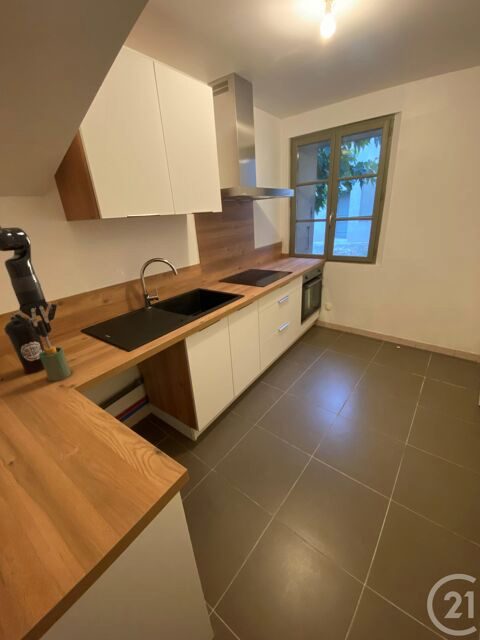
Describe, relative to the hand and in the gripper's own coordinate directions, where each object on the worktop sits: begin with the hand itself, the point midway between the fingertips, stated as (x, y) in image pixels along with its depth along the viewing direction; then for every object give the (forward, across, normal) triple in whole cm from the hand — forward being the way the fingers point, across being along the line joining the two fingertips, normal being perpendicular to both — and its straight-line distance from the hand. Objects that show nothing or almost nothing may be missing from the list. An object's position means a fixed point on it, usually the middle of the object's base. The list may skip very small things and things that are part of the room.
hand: (44, 333), depth 97 cm
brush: (+11, 0, 0) cm, 11 cm away
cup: (+19, 0, 0) cm, 19 cm away
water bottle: (+19, +2, -16) cm, 25 cm away
